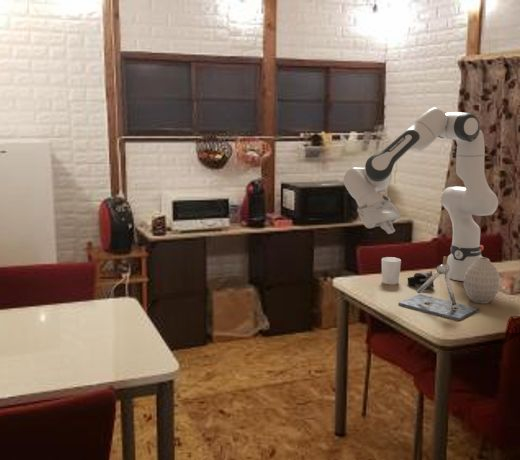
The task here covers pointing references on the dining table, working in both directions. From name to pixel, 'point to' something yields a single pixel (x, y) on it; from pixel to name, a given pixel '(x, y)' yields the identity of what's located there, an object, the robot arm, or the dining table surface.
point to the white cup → (390, 270)
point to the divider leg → (433, 277)
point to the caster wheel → (420, 279)
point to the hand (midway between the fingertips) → (391, 232)
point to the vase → (481, 281)
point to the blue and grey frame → (440, 303)
